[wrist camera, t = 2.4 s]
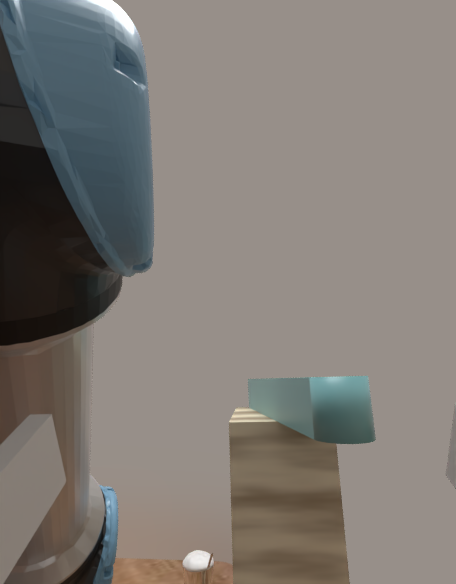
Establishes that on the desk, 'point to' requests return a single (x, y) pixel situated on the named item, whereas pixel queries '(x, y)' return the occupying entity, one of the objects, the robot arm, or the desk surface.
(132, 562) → the desk surface
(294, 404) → the teal rounded-top bar
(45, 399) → the robot arm
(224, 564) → the desk surface
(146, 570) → the desk surface
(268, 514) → the stand
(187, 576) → the milkshake
